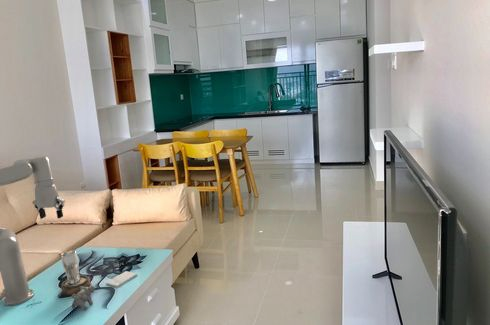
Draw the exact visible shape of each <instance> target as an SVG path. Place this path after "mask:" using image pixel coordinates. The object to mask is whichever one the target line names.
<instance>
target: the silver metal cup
mask: <svg viewBox="0 0 490 325" xmlns="http://www.w3.org/2000/svg"><path fill="white" fill-rule="evenodd" d="M60 256H61V264H62V267H63V270H64V272H65V275H66V277H67V278H66V279H68V285H76V284H78V283H80V282H81V278H80V276H79V275H80V269H79V268H80V265H79V258H78V254H77V251H76V250H74V249H71V250H67V251H64V252H62V253H61V254H60Z"/></svg>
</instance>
